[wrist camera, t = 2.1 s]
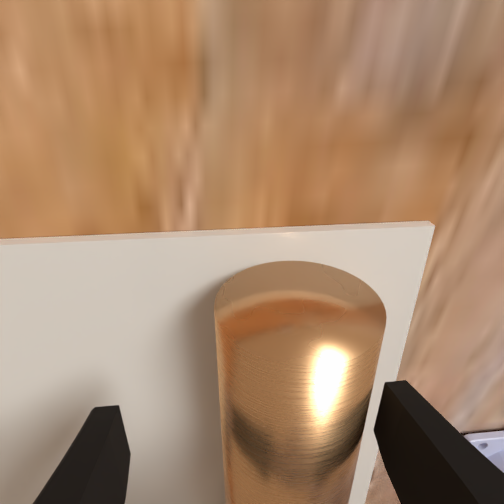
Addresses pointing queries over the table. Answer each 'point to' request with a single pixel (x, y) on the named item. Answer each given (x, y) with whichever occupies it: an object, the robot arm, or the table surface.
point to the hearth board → (162, 343)
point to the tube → (294, 380)
